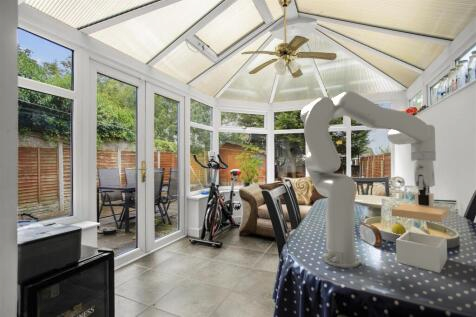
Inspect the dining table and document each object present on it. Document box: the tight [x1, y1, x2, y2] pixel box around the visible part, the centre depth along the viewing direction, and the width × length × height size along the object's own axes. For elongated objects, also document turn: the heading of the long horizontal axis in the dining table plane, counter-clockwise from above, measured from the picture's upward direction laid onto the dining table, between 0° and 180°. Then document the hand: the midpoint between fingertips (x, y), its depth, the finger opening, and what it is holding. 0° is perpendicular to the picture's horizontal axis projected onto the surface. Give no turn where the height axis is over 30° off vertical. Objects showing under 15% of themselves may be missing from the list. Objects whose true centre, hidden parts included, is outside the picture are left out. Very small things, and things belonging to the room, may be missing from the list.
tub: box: [395, 230, 448, 274], centre depth 87 cm, size 16×12×8 cm
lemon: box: [391, 222, 407, 235], centre depth 109 cm, size 6×6×8 cm
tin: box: [358, 221, 383, 247], centre depth 106 cm, size 15×3×8 cm, turn 179°
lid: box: [391, 191, 450, 223], centre depth 87 cm, size 18×14×8 cm
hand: (424, 204), depth 91 cm, fingers closed
